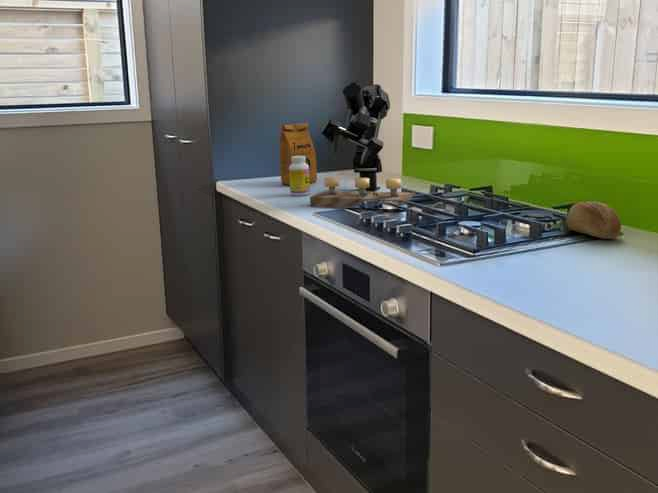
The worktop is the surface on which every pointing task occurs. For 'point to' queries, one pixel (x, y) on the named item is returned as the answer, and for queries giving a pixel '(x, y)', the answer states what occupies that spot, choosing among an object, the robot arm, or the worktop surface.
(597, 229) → the bread roll
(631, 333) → the worktop surface
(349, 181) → the worktop surface
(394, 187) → the button
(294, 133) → the coffee package
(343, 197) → the mount board
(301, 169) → the supplement bottle
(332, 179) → the button
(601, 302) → the worktop surface
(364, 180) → the button centre
